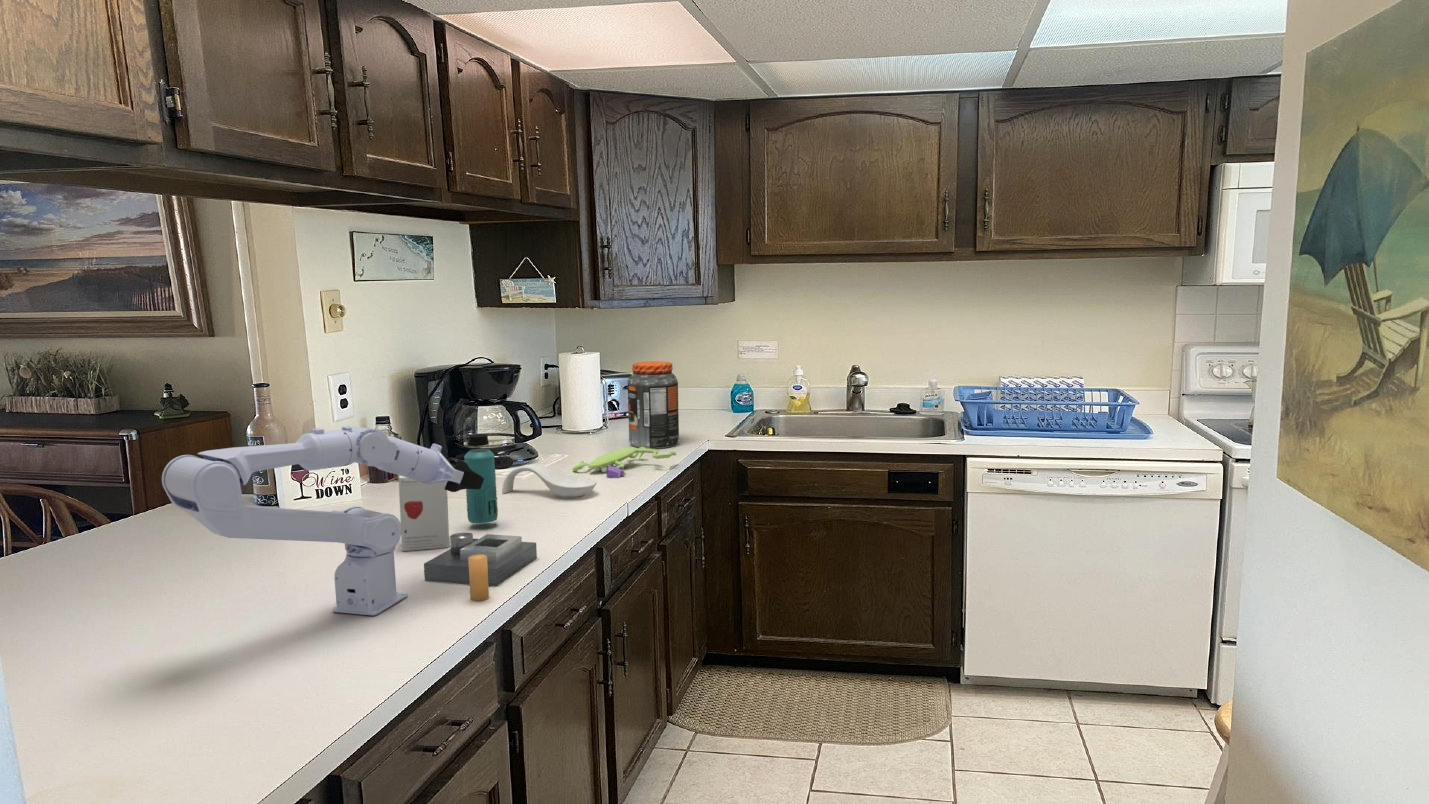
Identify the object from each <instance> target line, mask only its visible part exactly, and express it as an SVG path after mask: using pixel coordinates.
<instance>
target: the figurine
mask: <svg viewBox="0 0 1429 804" xmlns="http://www.w3.org/2000/svg"><path fill="white" fill-rule="evenodd" d="M639 453H640V455H639ZM644 453H645V454H647V453H648V454H652V455H651V457H652V458H654V459H657V460H658V459H659V460H660V459H669V458H671V457H673V456H676V455H677V451H674V450H673V451H672V450H671V451H668V453H667V454H658V453H659V450H657V449H646V448H645V447H640V448H638V447H635V446H632V447H631V446H630V447H624V448H620V449H617V450H614V451H613V450H612V451H610V452H607V453H605V454H603V455H601V456H599V457H597V458H595V459H594V460H592V461H591V462H589V463H587V462H585V461H583V460H581V461H580V462H579V463H578V464H577V465H575V466H574V467H573V468H572V472H575V473H576V472H577V471H578V470H580V469H582V468H583V467H586V466H587V467H588V468H589V469H594V470H595V471H596V472H600V471H601V472H602V473H606V477H608V478H612V477H617V478H620V477H619V476H622V477H624V473H625V469H624V467H625V464H624V463H622V461H624V460H626V459H628V458H630V459H635V458H636V457H638V455H639V457H638V459H639V460H641V458H642V456H643V455H644ZM615 465H616V466H615Z"/></svg>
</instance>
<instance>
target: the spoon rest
mask: <svg viewBox="0 0 1429 804" xmlns="http://www.w3.org/2000/svg"><path fill="white" fill-rule="evenodd" d="M523 472H530V473H531V472H532V473H533V474H535V475H536V476H538V478H540V480H541V481H542V482H543V483H544V485H545V486H546V487H547V489H549V490H550V491H551V492H552V494H554V495H555V496H557V497H558V498H561V499H576V498H577V497H578V498H581V497H584V496H587V495H588V494H590V493H591V492H592V491H593V490H594V489H595V487H596V486H597V481H596V480H595V479H593V478H590V477H588V476H587V477H586V476H582V475H579V474H573V473H570V472H569V473H568V472H563V471H560V470H557V469H553V468H549V467H545V466H543V465H538V464H525V465H522V466H519V467H517V468H514V469H513V470H511V471H510V472H509V473H507V475H506V477H505V478H504V480H503V483H502V489H501V493H502V494H508V493H510V492H512V491H513V490H514V483H515V478H516V476H517V475H518V474H520V473H523Z"/></svg>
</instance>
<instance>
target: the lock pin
mask: <svg viewBox="0 0 1429 804" xmlns="http://www.w3.org/2000/svg"><path fill="white" fill-rule="evenodd" d="M468 561H469V581H470V584H469V596H470V597H469V598H470V600H471V601H473V602H482V601H486V600H488V599H489V597H490V595H489V594H490V590H489V585H488V566H487V556H486V555H481V554H479V555H472V556H470V557H469V558H468Z"/></svg>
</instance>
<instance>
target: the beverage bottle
mask: <svg viewBox="0 0 1429 804" xmlns="http://www.w3.org/2000/svg"><path fill="white" fill-rule="evenodd" d="M489 443H490V442H489V435H488V434H486V433H476V434H475V433H474V434H470V435H469V436H468V446H470V447H481V446H482V447H483V446H487V445H489ZM463 457H464V458H463V459H464V462H466V463H467V465H468V466H469V468H470V469H471V470H472V471H474V472H475V473H477V474H479V475H480V476H482V477H483V478H484V481H483V483H482V486H481V489H464V490H465V491H464V492H465V493H466V495H465V496H466V498H465V501H466V505H465V506H466V513H467V515H466V516H467V517H466V518H467V520H468V522H469V523H471V524H488V523H493V522H495V521H497V520H498V517H499V508H498V506H499V504H498V502H499V501H498V497H497V495H498V491H497V477H496V476H497V474H496V467H495V454H494V453H493V452H492V450H490V449H488V448H475V449H470V450H469V451H468V452H466V454H465V455H464V456H463Z"/></svg>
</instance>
